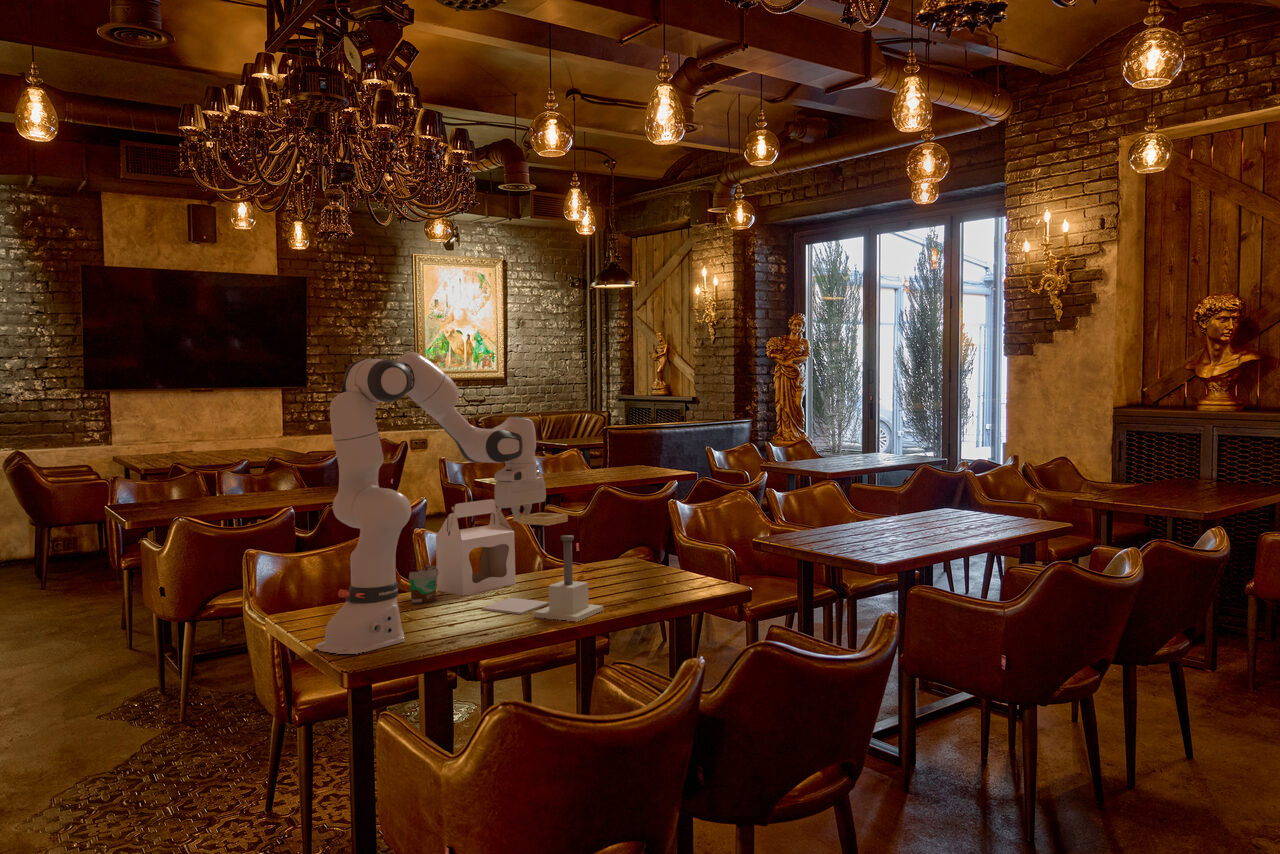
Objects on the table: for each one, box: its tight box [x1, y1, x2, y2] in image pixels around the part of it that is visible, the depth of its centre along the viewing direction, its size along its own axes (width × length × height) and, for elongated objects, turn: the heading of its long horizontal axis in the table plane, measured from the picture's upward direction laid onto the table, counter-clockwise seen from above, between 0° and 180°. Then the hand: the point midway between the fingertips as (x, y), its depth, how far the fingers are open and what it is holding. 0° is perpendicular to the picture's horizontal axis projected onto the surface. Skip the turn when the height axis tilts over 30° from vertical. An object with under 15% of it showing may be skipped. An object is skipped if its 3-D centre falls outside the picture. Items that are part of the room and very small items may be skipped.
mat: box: [481, 597, 549, 615], centre depth 264 cm, size 14×14×1 cm
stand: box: [533, 534, 604, 623], centre depth 253 cm, size 14×14×22 cm
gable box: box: [435, 498, 517, 597], centre depth 291 cm, size 22×13×28 cm, turn 139°
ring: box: [512, 512, 569, 527], centre depth 258 cm, size 10×15×2 cm, turn 61°
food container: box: [408, 564, 439, 606], centre depth 273 cm, size 12×6×10 cm, turn 168°
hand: (521, 520), depth 260 cm, fingers closed on ring, 2 cm apart
